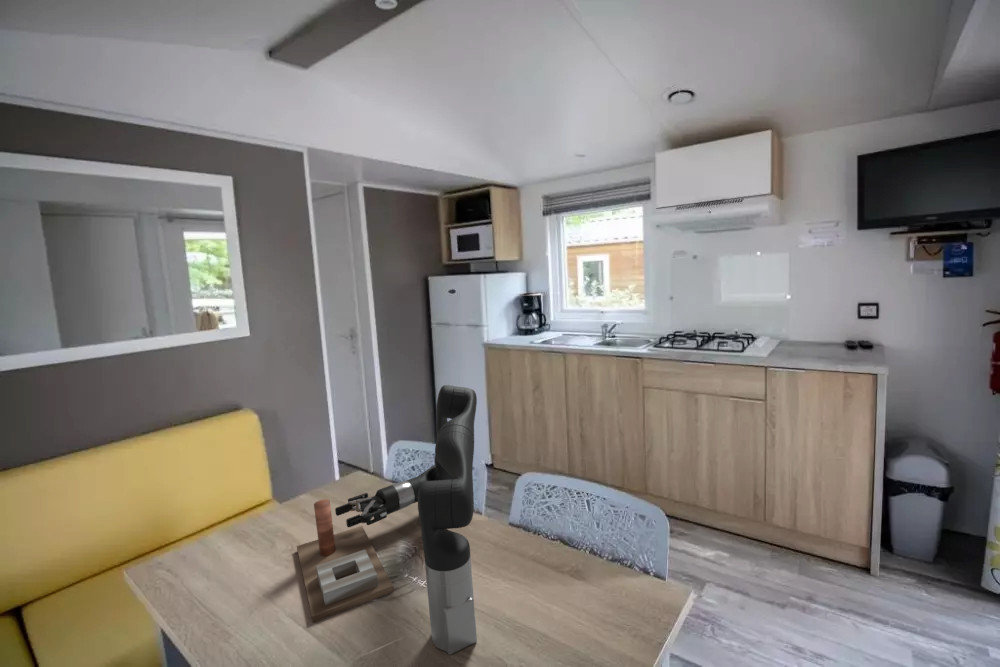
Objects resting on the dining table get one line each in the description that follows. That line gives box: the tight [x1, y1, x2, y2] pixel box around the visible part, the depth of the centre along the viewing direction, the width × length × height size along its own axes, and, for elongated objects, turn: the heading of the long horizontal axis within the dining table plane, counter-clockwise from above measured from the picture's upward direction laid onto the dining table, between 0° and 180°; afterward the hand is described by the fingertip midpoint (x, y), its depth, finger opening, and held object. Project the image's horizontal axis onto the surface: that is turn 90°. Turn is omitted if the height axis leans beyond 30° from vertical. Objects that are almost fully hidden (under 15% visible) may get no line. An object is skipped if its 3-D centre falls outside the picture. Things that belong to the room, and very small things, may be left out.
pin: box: [313, 498, 336, 556], centre depth 126 cm, size 4×4×14 cm
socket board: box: [296, 525, 394, 623], centre depth 121 cm, size 32×18×4 cm, turn 29°
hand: (341, 517), depth 129 cm, fingers open, 8 cm apart
